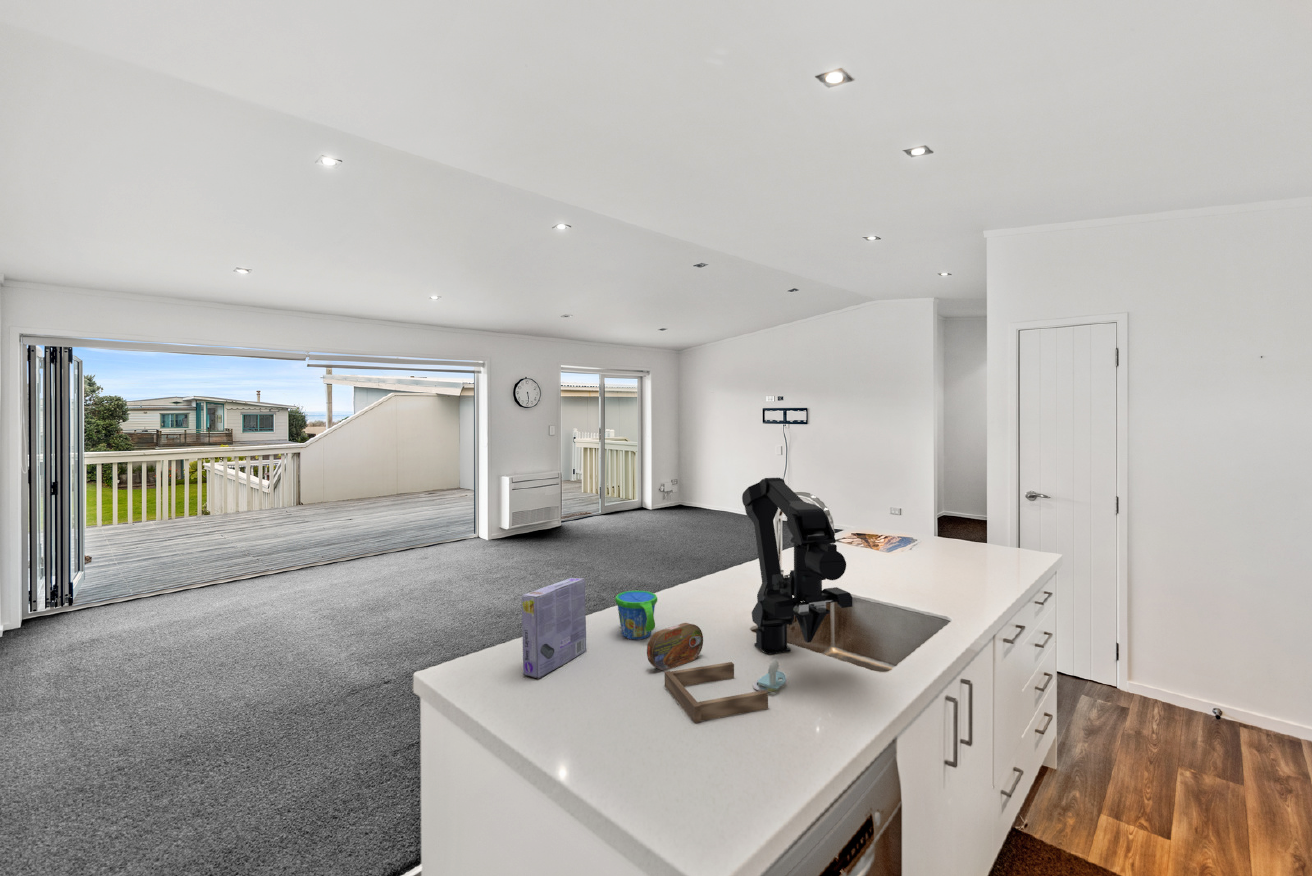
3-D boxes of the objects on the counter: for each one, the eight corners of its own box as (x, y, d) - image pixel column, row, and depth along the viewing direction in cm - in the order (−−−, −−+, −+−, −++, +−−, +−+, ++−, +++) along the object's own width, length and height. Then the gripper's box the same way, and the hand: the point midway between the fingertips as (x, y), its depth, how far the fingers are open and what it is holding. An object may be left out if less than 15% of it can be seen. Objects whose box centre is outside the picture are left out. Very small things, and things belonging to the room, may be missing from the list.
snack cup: (667, 642, 144) (667, 601, 144) (627, 649, 140) (627, 607, 140) (644, 623, 159) (644, 586, 159) (607, 628, 155) (607, 590, 155)
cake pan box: (573, 646, 143) (572, 574, 142) (590, 649, 140) (589, 576, 140) (520, 676, 126) (519, 594, 125) (538, 680, 123) (537, 597, 123)
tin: (653, 675, 126) (653, 636, 126) (644, 670, 128) (644, 632, 128) (704, 657, 135) (704, 621, 135) (695, 653, 138) (695, 618, 137)
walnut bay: (731, 675, 125) (730, 661, 125) (768, 709, 110) (768, 693, 110) (664, 686, 120) (664, 671, 120) (694, 723, 105) (694, 706, 105)
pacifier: (747, 691, 118) (774, 698, 115) (746, 660, 118) (773, 666, 115) (762, 678, 124) (789, 684, 121) (761, 649, 124) (788, 654, 121)
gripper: (822, 556, 132) (822, 624, 133) (749, 563, 126) (749, 634, 127) (854, 567, 122) (854, 641, 122) (776, 575, 116) (776, 653, 116)
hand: (807, 641), depth 122 cm, fingers closed
